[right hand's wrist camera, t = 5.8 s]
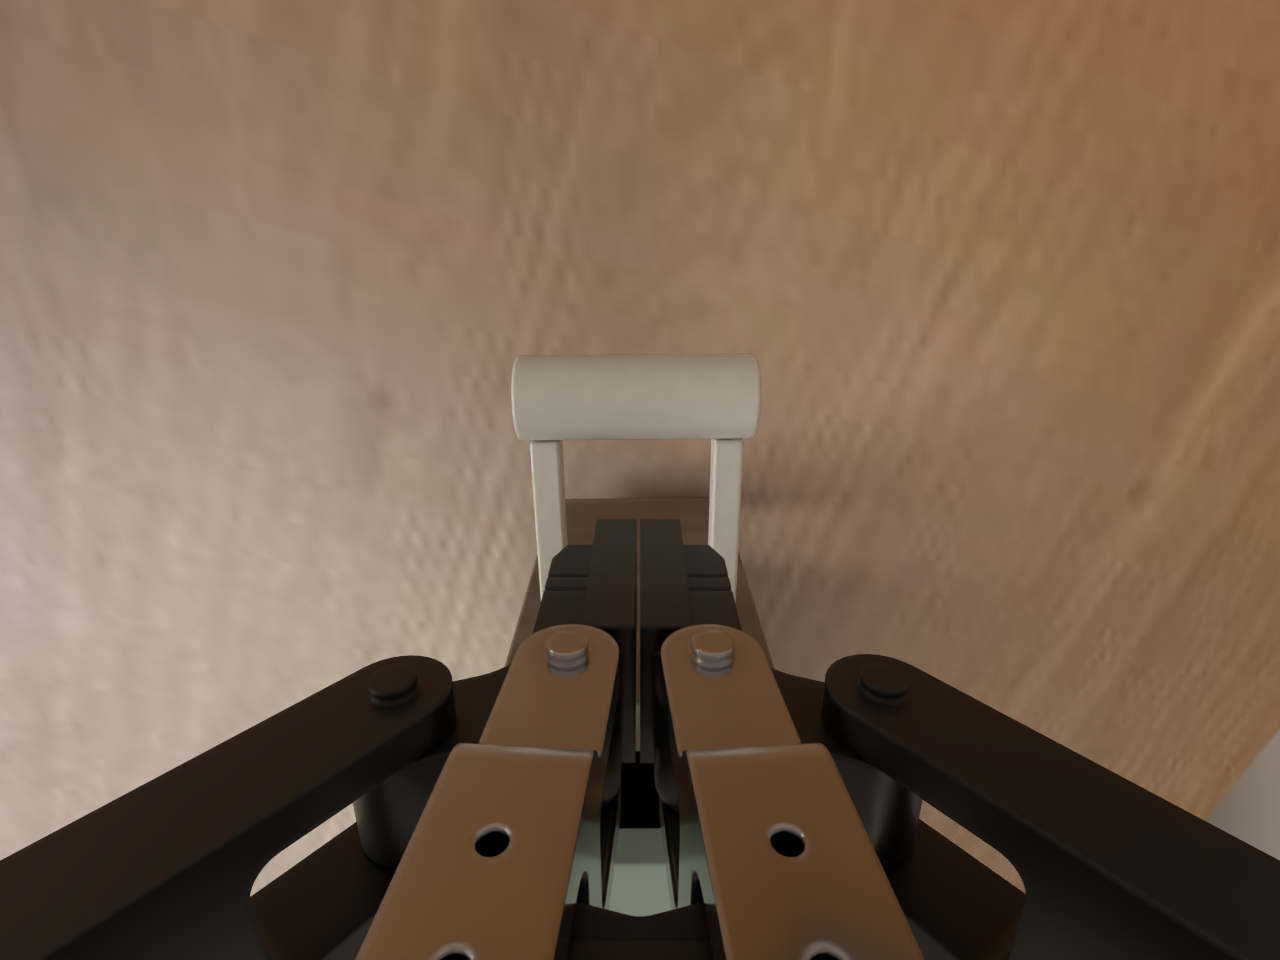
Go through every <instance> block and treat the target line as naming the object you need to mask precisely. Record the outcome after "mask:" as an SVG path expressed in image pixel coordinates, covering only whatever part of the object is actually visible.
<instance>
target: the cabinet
mask: <svg viewBox="0 0 1280 960" xmlns="http://www.w3.org/2000/svg"><path fill="white" fill-rule="evenodd" d="M609 910H611V911H615V912H619V913H622V914H626V915H631V916H649V915H654V914H658V913H661V912H665V911H669V910H671V905H670V897H669V889H668V881H667V873H666V865H665V857H664V849H663V841H662V833H661V828H620V829H619V833H618V841H617V849H616V857H615V865H614V873H613V881H612V889H611V897H610V905H609Z"/></svg>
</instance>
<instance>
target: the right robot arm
mask: <svg viewBox="0 0 1280 960" xmlns="http://www.w3.org/2000/svg"><path fill="white" fill-rule="evenodd" d="M636 646H637V520H636V518H597V521H596V528H595V535H594V542H593V545H567V546H565V547H564V548H563V549H562V550H561V551H560V552H559V553H558V554H557V555H555V556H554V557H553V558H552V561H551V565H550V569H549V573H548V577H547V580H546V584H545V591H544V592H543V596H542V600H541V604H540V608H539V611H538V615H537V619H536V623H535V627H534V631H533V634H532V635H530V636H529V637H528V638H526V639H525V640H524V641H523V642H522V643H521V644H520V645H519V647H518V649H517V651H516V653H515V656H514V658H513V661H512V663H511V664H509V665H508V666H506V667H504V668H502V669H499V670H497V671H494V672H492V673H489V674H485V675H481V676H477V677H472V678H468V679H463V680H458V681H453V682H452V676H451V673H450V671H449V669H448V668H447V667H446V666H445V665H444V664H443V663H441V662H439V661H437V660H435V659H432V658H429V657H423V656H399V657H393V658H389V659H385V660H381V661H378V662H376V663H373V664H371V665H368V666H366V667H364V668H362V669H360V670H358V671H357V672H355V673H353V674H351V675H349V676H347V677H345V678H343V679H341V680H340V681H338V682H336V683H334V684H332V685H330V686H328V687H326V688H325V689H323V690H321V691H319V692H317V693H315V694H313V695H311V696H309V697H308V698H306V699H304V700H302V701H300V702H298V703H296V704H294V705H293V706H291V707H289V708H287V709H285V710H283V711H281V712H279V713H277V714H276V715H274V716H272V717H270V718H268V719H266V720H264V721H262V722H261V723H259V724H257V725H255V726H253V727H251V728H249V729H247V730H245V731H244V732H242V733H240V734H238V735H236V736H234V737H232V738H230V739H229V740H227V741H225V742H223V743H221V744H219V745H217V746H215V747H213V748H212V749H210V750H208V751H206V752H204V753H202V754H200V755H198V756H197V757H195V758H193V759H191V760H189V761H187V762H185V763H183V764H181V765H180V766H178V767H176V768H174V769H172V770H170V771H168V772H166V773H165V774H163V775H161V776H159V777H157V778H155V779H153V780H151V781H149V782H148V783H146V784H144V785H142V786H140V787H138V788H136V789H134V790H133V791H131V792H129V793H127V794H125V795H123V796H121V797H119V798H117V799H116V800H114V801H112V802H110V803H108V804H106V805H104V806H102V807H101V808H99V809H97V810H95V811H93V812H91V813H89V814H87V815H85V816H84V817H82V818H80V819H78V820H76V821H74V822H72V823H70V824H69V825H67V826H65V827H63V828H61V829H59V830H57V831H55V832H53V833H52V834H50V835H48V836H46V837H44V838H42V839H40V840H38V841H37V842H35V843H33V844H31V845H29V846H27V847H25V848H23V849H21V850H20V851H18V852H16V853H14V854H12V855H10V856H8V857H6V858H5V859H3V860H1V861H0V960H1280V861H1279V860H1277V859H1275V858H1274V857H1272V856H1270V855H1268V854H1266V853H1264V852H1262V851H1260V850H1259V849H1257V848H1255V847H1253V846H1251V845H1249V844H1247V843H1245V842H1243V841H1241V840H1240V839H1238V838H1236V837H1234V836H1232V835H1230V834H1228V833H1226V832H1225V831H1223V830H1221V829H1219V828H1217V827H1215V826H1213V825H1211V824H1210V823H1208V822H1206V821H1204V820H1202V819H1200V818H1198V817H1196V816H1195V815H1193V814H1191V813H1189V812H1187V811H1185V810H1183V809H1181V808H1179V807H1178V806H1176V805H1174V804H1172V803H1170V802H1168V801H1166V800H1164V799H1163V798H1161V797H1159V796H1157V795H1155V794H1153V793H1151V792H1149V791H1147V790H1146V789H1144V788H1142V787H1140V786H1138V785H1136V784H1134V783H1132V782H1131V781H1129V780H1127V779H1125V778H1123V777H1121V776H1119V775H1117V774H1115V773H1114V772H1112V771H1110V770H1108V769H1106V768H1104V767H1102V766H1100V765H1099V764H1097V763H1095V762H1093V761H1091V760H1089V759H1087V758H1085V757H1083V756H1082V755H1080V754H1078V753H1076V752H1074V751H1072V750H1070V749H1068V748H1067V747H1065V746H1063V745H1061V744H1059V743H1057V742H1055V741H1053V740H1051V739H1050V738H1048V737H1046V736H1044V735H1042V734H1040V733H1038V732H1036V731H1035V730H1033V729H1031V728H1029V727H1027V726H1025V725H1023V724H1021V723H1019V722H1018V721H1016V720H1014V719H1012V718H1010V717H1008V716H1006V715H1004V714H1003V713H1001V712H999V711H997V710H995V709H993V708H991V707H989V706H987V705H986V704H984V703H982V702H980V701H978V700H976V699H974V698H972V697H971V696H969V695H967V694H965V693H963V692H961V691H959V690H957V689H955V688H954V687H952V686H950V685H948V684H946V683H944V682H942V681H940V680H939V679H937V678H935V677H933V676H931V675H929V674H927V673H925V672H923V671H922V670H920V669H918V668H916V667H914V666H912V665H910V664H908V663H906V662H903V661H900V660H897V659H894V658H890V657H886V656H881V655H872V654H858V655H852V656H848V657H844V658H842V659H840V660H837V661H836V662H835V663H833V664H832V665H831V666H830V667H829V669H828V670H827V673H826V677H825V682H820V681H816V680H811V679H806V678H802V677H797V676H793V675H789V674H786V673H783V672H780V671H777V670H775V669H773V668H771V667H770V665H769V663H768V661H767V658H766V656H765V653H764V651H763V649H762V647H761V645H760V644H759V643H758V642H757V641H756V640H755V639H754V638H752V637H751V636H750V635H748V634H746V633H745V632H742V628H741V624H740V620H739V616H738V612H737V608H736V604H735V600H734V596H733V592H732V591H731V584H730V580H729V578H728V572H727V568H726V564H725V560H724V558H723V557H722V556H721V555H720V554H719V553H718V552H716V551H715V550H714V549H713V548H712V547H711V546H710V545H683V540H682V532H681V525H680V519H640V763H654V780H655V787H656V790H657V792H658V794H659V817H660V825H661V833H662V841H663V849H664V857H665V865H666V873H667V881H668V889H669V897H670V905H671V910H669V911H665V912H661V913H658V914H654V915H649V916H631V915H626V914H622V913H619V912H615V911H611V910H609V905H610V897H611V889H612V881H613V873H614V865H615V857H616V849H617V841H618V833H619V825H620V817H621V763H636ZM922 800H924V801H926V802H927V803H929V804H930V805H932V806H933V807H935V808H936V809H938V810H939V811H941V812H942V813H943V814H945V815H946V816H948V817H949V818H951V819H952V820H954V821H955V822H957V823H958V824H960V825H961V826H962V827H964V828H965V829H967V830H968V831H970V832H971V833H973V834H974V835H976V836H977V837H979V838H980V839H982V840H983V841H984V842H986V843H987V844H989V845H990V846H992V847H993V848H995V849H996V850H997V851H999V852H1000V853H1001V854H1003V855H1004V856H1005V857H1006V858H1007V859H1008V860H1009V861H1010V862H1011V864H1012V865H1013V866H1014V867H1015V869H1016V870H1017V871H1018V873H1019V875H1020V877H1021V878H1022V881H1023V883H1024V886H1025V890H1026V894H1025V893H1023V892H1022V891H1020V890H1019V889H1018V888H1016V887H1015V886H1013V885H1012V884H1011V883H1009V882H1008V881H1006V880H1005V879H1003V878H1002V877H1001V876H999V875H998V874H996V873H995V872H994V871H992V870H991V869H989V868H988V867H987V866H985V865H984V864H982V863H981V862H979V861H978V860H977V859H975V858H974V857H972V856H971V855H970V854H968V853H967V852H965V851H964V850H963V849H961V848H960V847H958V846H957V845H955V844H954V843H953V842H951V841H950V840H948V839H947V838H946V837H944V836H943V835H941V834H940V833H938V832H937V831H936V830H934V829H933V828H931V827H930V826H929V825H927V824H926V823H924V822H923V821H922V820H920V819H919V815H920V810H921V805H922ZM351 803H353V806H354V811H355V816H356V821H357V822H356V823H354V824H353V825H351V826H350V827H349V828H347V829H346V830H344V831H343V832H341V833H340V834H339V835H337V836H336V837H334V838H333V839H332V840H330V841H329V842H327V843H326V844H325V845H323V846H322V847H320V848H319V849H317V850H316V851H315V852H313V853H312V854H310V855H309V856H308V857H306V858H305V859H303V860H302V861H301V862H299V863H298V864H296V865H295V866H293V867H292V868H291V869H289V870H288V871H286V872H285V873H284V874H282V875H281V876H279V877H278V878H277V879H275V880H274V881H272V882H271V883H269V884H268V885H267V886H265V887H264V888H262V889H261V890H260V891H258V892H257V893H255V894H254V895H252V896H251V897H250V892H251V889H252V886H253V883H254V881H255V879H256V878H257V876H258V874H259V873H260V871H261V870H262V869H263V867H264V866H265V865H266V864H267V863H268V862H269V861H270V860H271V859H272V858H273V857H274V856H276V855H277V854H278V853H279V852H281V851H282V850H284V849H285V848H287V847H288V846H290V845H291V844H293V843H294V842H295V841H297V840H298V839H300V838H301V837H303V836H304V835H306V834H307V833H309V832H310V831H312V830H313V829H315V828H316V827H317V826H319V825H320V824H322V823H323V822H325V821H326V820H328V819H329V818H331V817H332V816H334V815H335V814H337V813H338V812H339V811H341V810H342V809H344V808H345V807H347V806H348V805H350V804H351Z"/></svg>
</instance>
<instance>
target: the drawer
mask: <svg viewBox="0 0 1280 960" xmlns="http://www.w3.org/2000/svg"><path fill="white" fill-rule="evenodd" d="M511 401H512V414H513V422H514V427H515V431H516V433H517V436H518V438H519V439H521V440H532V441H531V444H530V454H531V468H532V482H533V497H534V511H535V525H536V539H537V553H538V554H537V557H536V561H535V564H534V568H533V571H532V575H531V578H530V581H529V585H528V588H527V592H526V595H525V599H524V602H523V606H522V609H521V612H520V616H519V619H518V623H517V626H516V630H515V633H514V637H513V640H512V644H511V647H510V650H509V654H508V657H507V661H506V664H505V667H506V666H508V665H509V664H511V663H512V661H513V658H514V656H515V653H516V651H517V649H518V647H519V645H520V644H521V643H522V642H523V641H524V640H525V639H526V638H528V637H529V636H530V635H532V634H533V631H534V627H535V623H536V619H537V615H538V611H539V608H540V604H541V600H542V596H543V592H544V591H545V584H546V580H547V577H548V573H549V569H550V565H551V561H552V558H553V557H554V556H555V555H557V554H558V553H559V552H560V551H561V550H562V549H563V548H564V547H565V546H567V545H593V542H594V535H595V528H596V521H597V518H636V520H637V646H636V763H621V817H620V825H619V829H620V828H661V825H660V817H659V794H658V792H657V790H656V787H655V780H654V763H640V519H680V525H681V532H682V540H683V545H710V546H711V547H712V548H713V549H714V550H715V551H716V552H718V553H719V554H720V555H721V556H722V557H723V558H724V560H725V564H726V568H727V572H728V578H729V580H730V584H731V591H732V592H733V596H734V600H735V604H736V608H737V612H738V616H739V620H740V624H741V628H742V632H745V633H746V634H748V635H750V636H751V637H752V638H754V639H755V640H756V641H757V642H758V643H759V644H760V645H761V647H762V649H763V651H764V653H765V656H766V658H767V661H768V663H769V665H770V667H771V668H773V669H774V666H773V663H772V660H771V656H770V653H769V650H768V647H767V643H766V640H765V637H764V633H763V630H762V627H761V624H760V620H759V617H758V614H757V610H756V607H755V604H754V601H753V597H752V594H751V591H750V587H749V584H748V581H747V578H746V574H745V571H744V568H743V565H742V561H741V558H740V555H739V551H738V547H739V527H740V507H741V487H742V468H743V448H744V443H743V440H742V438H753V437H754V436H755V435H756V432H757V429H758V425H759V420H760V411H761V376H760V368H759V363H758V360H757V358H756V356H755V355H754V354H752V353H749V354H634V355H520V356H518V357H517V358H516V359H515V362H514V366H513V371H512V382H511ZM631 439H711V470H710V498H631V499H565V486H564V467H563V447H562V440H631Z"/></svg>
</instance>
